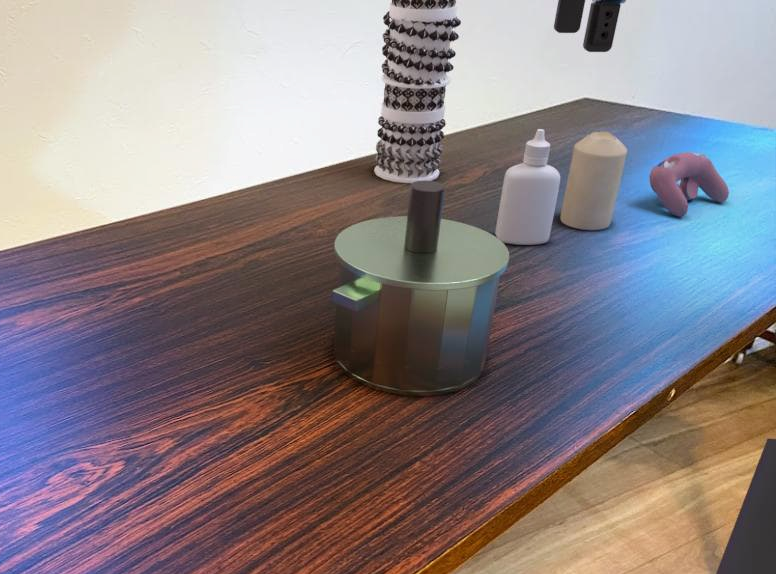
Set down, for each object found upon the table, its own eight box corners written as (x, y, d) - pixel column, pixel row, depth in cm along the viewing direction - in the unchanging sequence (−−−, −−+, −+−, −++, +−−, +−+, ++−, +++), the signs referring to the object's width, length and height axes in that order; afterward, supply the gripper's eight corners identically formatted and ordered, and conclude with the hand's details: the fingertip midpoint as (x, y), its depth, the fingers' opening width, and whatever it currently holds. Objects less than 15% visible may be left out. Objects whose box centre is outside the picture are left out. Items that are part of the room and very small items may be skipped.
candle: (613, 232, 101) (634, 143, 96) (562, 229, 102) (580, 140, 97) (606, 214, 106) (625, 128, 100) (557, 212, 107) (574, 126, 101)
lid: (541, 262, 72) (555, 187, 69) (436, 315, 65) (447, 233, 61) (405, 217, 81) (412, 148, 78) (298, 259, 73) (301, 184, 70)
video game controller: (697, 206, 113) (687, 150, 111) (733, 199, 109) (723, 141, 107) (649, 222, 108) (638, 164, 107) (685, 216, 104) (674, 155, 103)
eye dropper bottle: (502, 228, 102) (519, 121, 96) (552, 238, 100) (573, 128, 93) (490, 241, 99) (507, 131, 93) (541, 251, 97) (563, 139, 90)
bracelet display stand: (407, 189, 114) (429, -31, 100) (356, 170, 120) (371, -39, 106) (457, 175, 118) (484, -37, 105) (405, 157, 124) (425, -45, 111)
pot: (530, 349, 79) (550, 246, 74) (399, 427, 68) (412, 314, 63) (414, 302, 87) (425, 206, 81) (281, 366, 76) (284, 261, 71)
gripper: (709, -177, 65) (653, 59, 74) (637, -177, 77) (596, 26, 86) (605, -178, 65) (561, 58, 74) (549, -177, 77) (517, 26, 86)
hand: (580, 41), depth 80 cm, fingers open, 8 cm apart
